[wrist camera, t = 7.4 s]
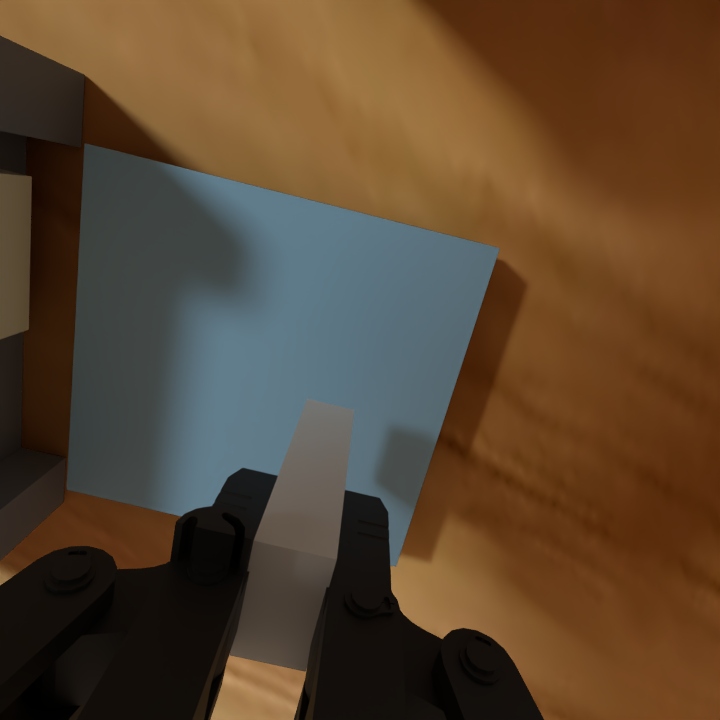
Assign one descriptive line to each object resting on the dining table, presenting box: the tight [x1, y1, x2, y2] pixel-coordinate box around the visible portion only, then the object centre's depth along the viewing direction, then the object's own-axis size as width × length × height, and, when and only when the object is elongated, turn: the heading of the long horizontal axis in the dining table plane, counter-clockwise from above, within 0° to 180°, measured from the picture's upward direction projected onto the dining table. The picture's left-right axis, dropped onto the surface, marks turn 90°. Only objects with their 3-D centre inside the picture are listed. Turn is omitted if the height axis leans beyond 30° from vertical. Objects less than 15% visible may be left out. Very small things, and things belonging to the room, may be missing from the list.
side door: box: [67, 143, 500, 566], centre depth 19 cm, size 14×2×14 cm
